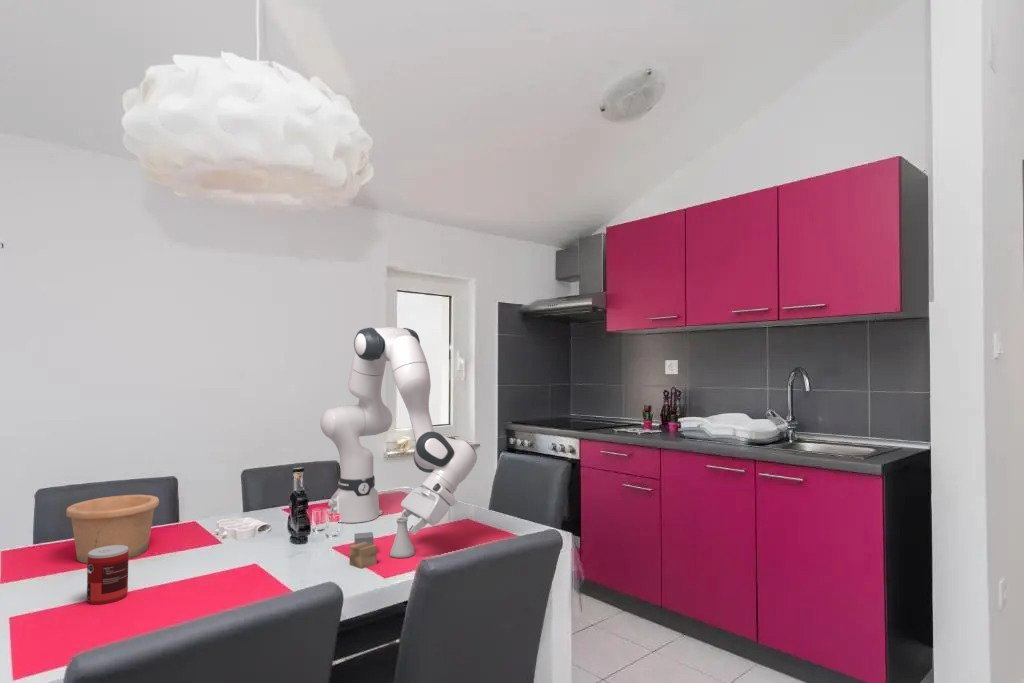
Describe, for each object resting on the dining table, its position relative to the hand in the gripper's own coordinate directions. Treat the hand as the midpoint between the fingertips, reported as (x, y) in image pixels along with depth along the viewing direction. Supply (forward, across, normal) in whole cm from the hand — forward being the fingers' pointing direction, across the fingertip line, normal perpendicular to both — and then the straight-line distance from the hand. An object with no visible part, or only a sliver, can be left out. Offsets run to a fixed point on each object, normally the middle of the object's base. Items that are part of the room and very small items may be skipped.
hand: (404, 528), depth 168 cm
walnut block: (+14, +2, -4) cm, 15 cm away
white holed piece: (+31, -48, -20) cm, 61 cm away
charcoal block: (+12, -7, -2) cm, 14 cm away
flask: (+6, 0, +5) cm, 7 cm away
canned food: (+54, -7, -44) cm, 70 cm away
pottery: (+54, -44, -44) cm, 83 cm away
